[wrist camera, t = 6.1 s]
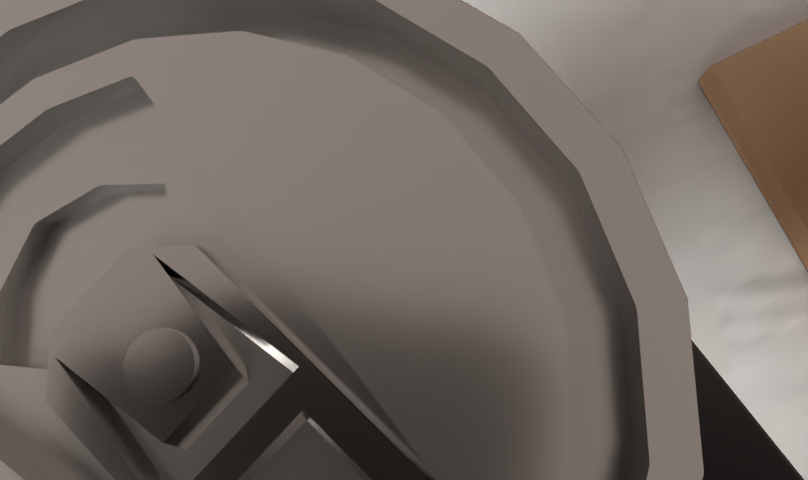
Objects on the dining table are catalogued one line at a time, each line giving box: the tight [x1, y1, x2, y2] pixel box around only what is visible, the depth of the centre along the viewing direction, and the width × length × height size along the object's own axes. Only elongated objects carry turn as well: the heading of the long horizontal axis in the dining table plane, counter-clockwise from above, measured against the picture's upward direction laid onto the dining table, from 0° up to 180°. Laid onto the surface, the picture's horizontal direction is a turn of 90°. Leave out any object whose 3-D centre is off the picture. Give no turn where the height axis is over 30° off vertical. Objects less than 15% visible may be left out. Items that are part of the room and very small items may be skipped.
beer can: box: [0, 0, 704, 480], centre depth 9 cm, size 5×5×12 cm
